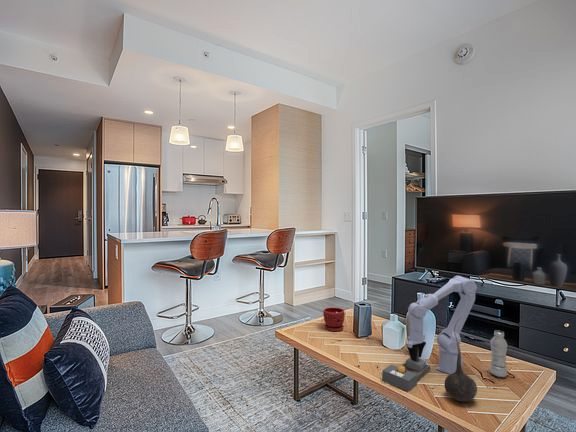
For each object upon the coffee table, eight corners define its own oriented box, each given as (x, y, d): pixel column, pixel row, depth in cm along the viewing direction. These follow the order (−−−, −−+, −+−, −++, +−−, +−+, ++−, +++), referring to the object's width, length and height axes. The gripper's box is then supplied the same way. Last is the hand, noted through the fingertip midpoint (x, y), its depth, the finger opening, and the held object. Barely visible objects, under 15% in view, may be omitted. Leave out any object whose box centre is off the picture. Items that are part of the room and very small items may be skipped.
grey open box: (417, 384, 139) (417, 373, 139) (408, 391, 133) (408, 379, 133) (391, 374, 147) (391, 363, 147) (382, 380, 142) (382, 369, 142)
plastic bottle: (501, 380, 143) (502, 335, 142) (486, 373, 149) (487, 330, 148) (510, 377, 146) (511, 333, 145) (494, 370, 152) (495, 328, 151)
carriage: (426, 367, 151) (426, 350, 151) (420, 372, 147) (420, 354, 147) (411, 362, 156) (411, 345, 156) (405, 366, 152) (405, 349, 152)
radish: (477, 393, 133) (478, 320, 132) (476, 410, 121) (478, 330, 120) (446, 385, 139) (447, 315, 138) (442, 401, 127) (444, 324, 126)
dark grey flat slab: (430, 370, 151) (430, 365, 151) (415, 383, 140) (415, 377, 140) (409, 363, 158) (409, 358, 158) (393, 374, 147) (393, 369, 147)
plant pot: (346, 327, 207) (346, 308, 207) (341, 334, 195) (341, 314, 195) (326, 323, 212) (327, 305, 212) (320, 330, 200) (320, 311, 200)
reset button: (406, 375, 141) (406, 367, 141) (402, 378, 139) (403, 369, 139) (399, 373, 143) (399, 364, 143) (396, 375, 141) (396, 366, 141)
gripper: (414, 323, 159) (414, 351, 159) (400, 331, 149) (400, 360, 149) (429, 327, 154) (429, 355, 154) (416, 335, 144) (415, 365, 144)
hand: (415, 358), depth 151 cm, fingers open, 5 cm apart
